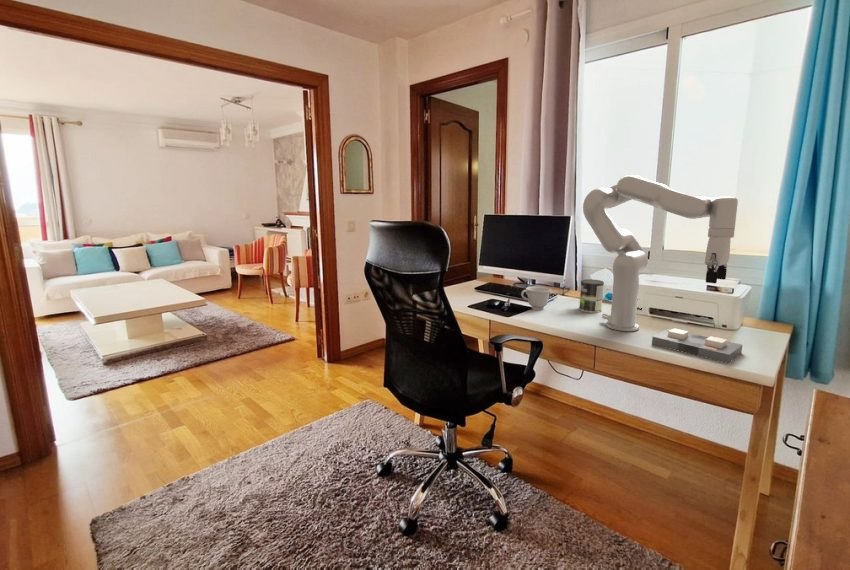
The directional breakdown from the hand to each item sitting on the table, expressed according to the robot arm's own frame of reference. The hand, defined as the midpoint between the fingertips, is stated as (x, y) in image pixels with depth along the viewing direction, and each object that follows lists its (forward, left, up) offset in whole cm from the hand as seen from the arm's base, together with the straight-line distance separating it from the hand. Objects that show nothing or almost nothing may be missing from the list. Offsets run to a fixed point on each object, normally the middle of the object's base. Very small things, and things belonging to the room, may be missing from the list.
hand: (715, 280), depth 150 cm
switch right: (+5, -9, -22) cm, 24 cm away
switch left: (-7, -9, -22) cm, 24 cm away
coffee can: (-53, +11, -24) cm, 59 cm away
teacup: (-72, -7, -24) cm, 76 cm away
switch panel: (-1, -9, -24) cm, 25 cm away
